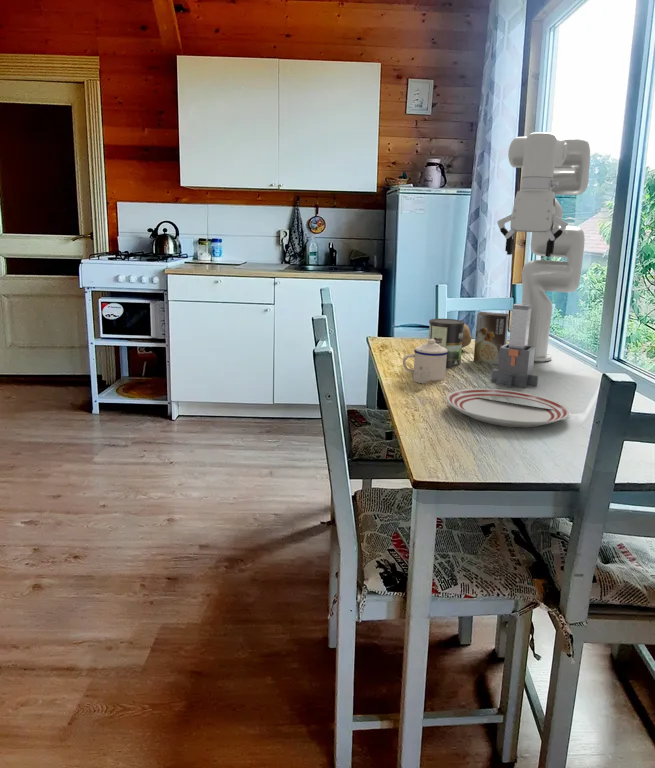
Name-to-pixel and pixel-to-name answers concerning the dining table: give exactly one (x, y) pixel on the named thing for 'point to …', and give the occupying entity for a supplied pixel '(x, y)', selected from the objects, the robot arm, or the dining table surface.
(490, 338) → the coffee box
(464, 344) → the natural sponge
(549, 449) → the dining table surface
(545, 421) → the dinner plate
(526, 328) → the column
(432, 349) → the teacup with lid
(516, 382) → the stand base
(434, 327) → the coffee can
